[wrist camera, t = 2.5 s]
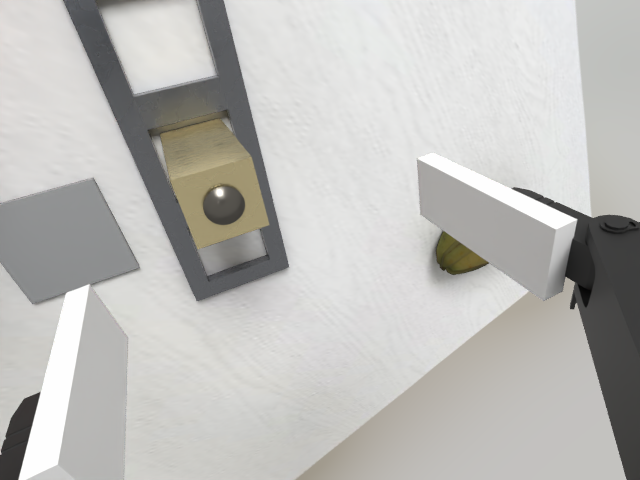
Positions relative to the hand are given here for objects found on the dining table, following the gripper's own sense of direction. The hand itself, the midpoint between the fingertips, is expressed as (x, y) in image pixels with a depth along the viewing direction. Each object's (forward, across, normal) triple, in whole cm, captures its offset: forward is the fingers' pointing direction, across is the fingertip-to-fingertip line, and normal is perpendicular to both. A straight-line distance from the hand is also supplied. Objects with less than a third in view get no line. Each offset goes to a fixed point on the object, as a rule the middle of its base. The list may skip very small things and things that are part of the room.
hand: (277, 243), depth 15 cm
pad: (+21, -14, -6) cm, 26 cm away
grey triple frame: (+21, -1, -2) cm, 22 cm away
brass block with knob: (+22, -1, -2) cm, 22 cm away
